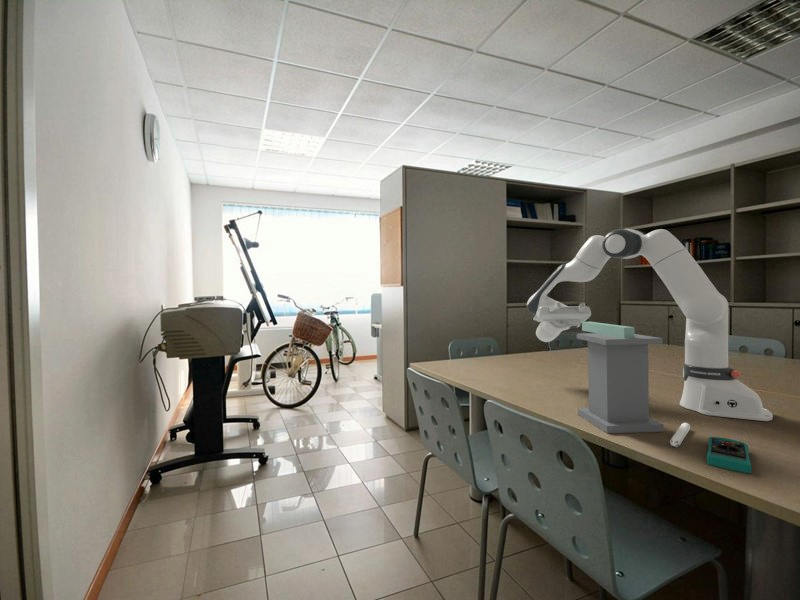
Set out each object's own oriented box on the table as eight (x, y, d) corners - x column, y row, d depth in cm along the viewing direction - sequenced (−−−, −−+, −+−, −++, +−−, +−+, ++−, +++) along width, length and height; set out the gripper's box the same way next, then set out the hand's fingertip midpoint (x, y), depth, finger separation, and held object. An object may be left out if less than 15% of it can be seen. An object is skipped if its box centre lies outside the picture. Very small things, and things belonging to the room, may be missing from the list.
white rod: (678, 450, 91) (678, 441, 91) (668, 448, 92) (667, 438, 92) (690, 431, 103) (690, 422, 103) (681, 429, 105) (681, 420, 105)
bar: (582, 330, 127) (582, 321, 127) (590, 330, 127) (590, 321, 127) (624, 338, 104) (624, 327, 104) (634, 338, 104) (634, 327, 104)
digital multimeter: (748, 453, 89) (747, 441, 89) (751, 476, 78) (751, 462, 78) (708, 445, 94) (708, 434, 94) (706, 466, 83) (706, 453, 83)
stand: (577, 414, 118) (576, 333, 118) (627, 413, 118) (625, 332, 118) (606, 433, 102) (605, 339, 102) (663, 431, 102) (662, 338, 102)
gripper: (530, 313, 153) (541, 297, 141) (579, 313, 153) (594, 296, 141) (533, 327, 150) (545, 312, 137) (583, 327, 150) (599, 311, 138)
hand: (570, 304), depth 139 cm, fingers open, 8 cm apart
